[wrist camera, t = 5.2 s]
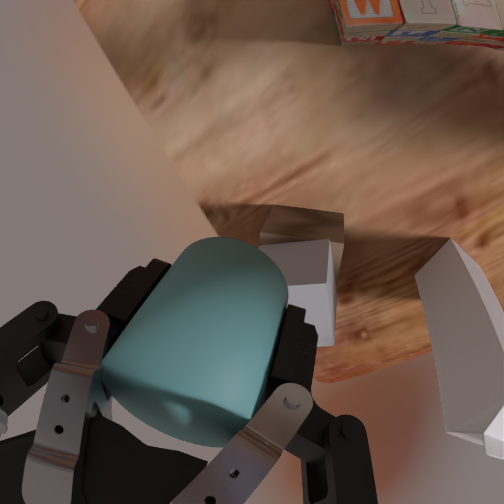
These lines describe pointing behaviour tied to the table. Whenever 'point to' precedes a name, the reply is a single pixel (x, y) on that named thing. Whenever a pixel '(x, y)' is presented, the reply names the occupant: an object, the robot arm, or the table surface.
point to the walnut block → (305, 229)
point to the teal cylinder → (202, 343)
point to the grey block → (309, 282)
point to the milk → (465, 346)
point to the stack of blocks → (420, 22)
